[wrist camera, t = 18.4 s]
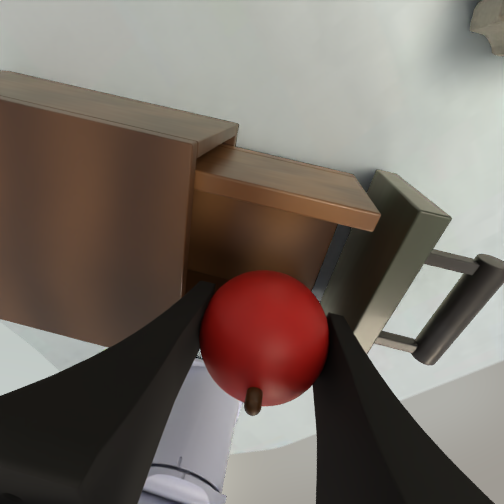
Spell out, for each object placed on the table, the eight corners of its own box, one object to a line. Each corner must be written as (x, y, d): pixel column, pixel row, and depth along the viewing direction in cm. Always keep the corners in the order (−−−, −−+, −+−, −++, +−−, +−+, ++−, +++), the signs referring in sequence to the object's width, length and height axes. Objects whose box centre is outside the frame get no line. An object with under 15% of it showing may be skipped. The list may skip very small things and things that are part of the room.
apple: (306, 342, 13) (309, 472, 9) (212, 318, 14) (167, 434, 9) (340, 263, 11) (369, 386, 6) (226, 235, 11) (173, 335, 7)
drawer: (482, 193, 15) (588, 249, 9) (394, 326, 20) (430, 411, 15) (168, 120, 16) (95, 133, 10) (164, 268, 21) (115, 329, 15)
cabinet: (239, 123, 16) (192, 144, 9) (215, 281, 22) (176, 366, 15) (9, 71, 16) (-203, 52, 9) (48, 239, 22) (-64, 302, 15)
